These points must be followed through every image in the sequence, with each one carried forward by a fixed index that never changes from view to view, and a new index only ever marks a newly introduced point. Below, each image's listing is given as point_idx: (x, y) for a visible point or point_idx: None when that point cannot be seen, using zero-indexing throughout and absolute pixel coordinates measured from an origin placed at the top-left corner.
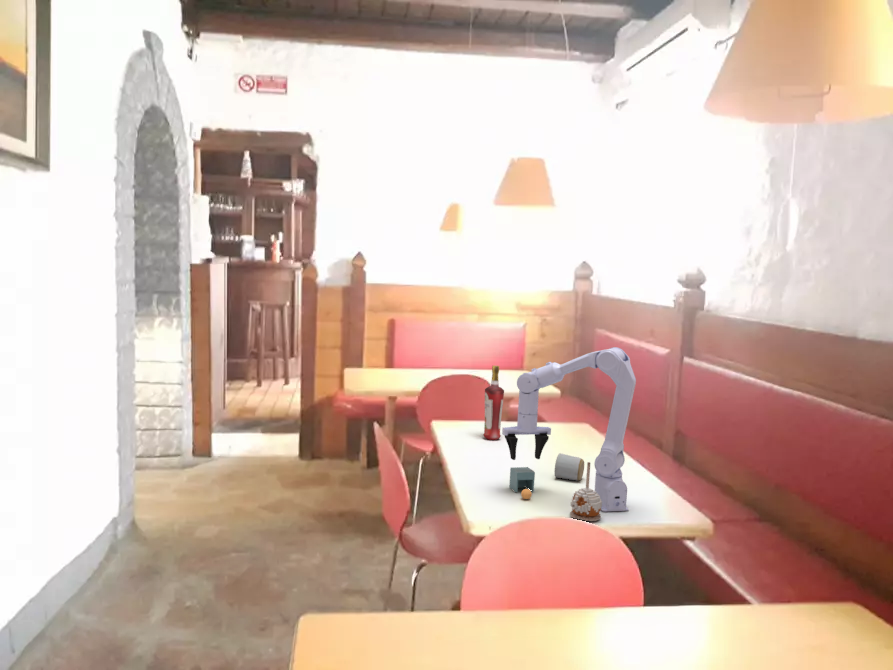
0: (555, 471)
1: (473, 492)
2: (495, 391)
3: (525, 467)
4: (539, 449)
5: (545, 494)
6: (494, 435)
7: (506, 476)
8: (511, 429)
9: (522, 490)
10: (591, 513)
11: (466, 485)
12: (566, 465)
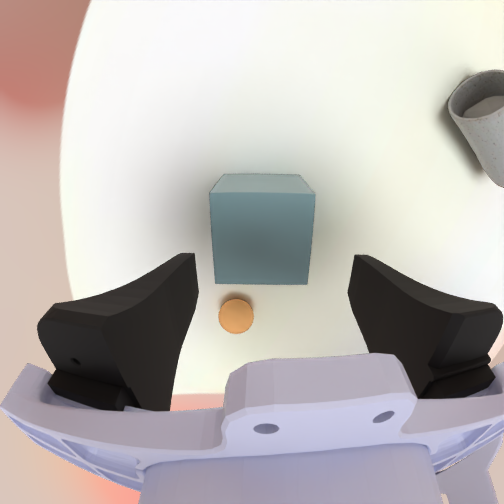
0: (456, 121)
1: (91, 222)
2: None
3: (298, 199)
4: (367, 344)
5: (326, 269)
6: None
7: (269, 28)
8: (88, 468)
9: (222, 317)
10: None
11: (81, 146)
12: (496, 156)
